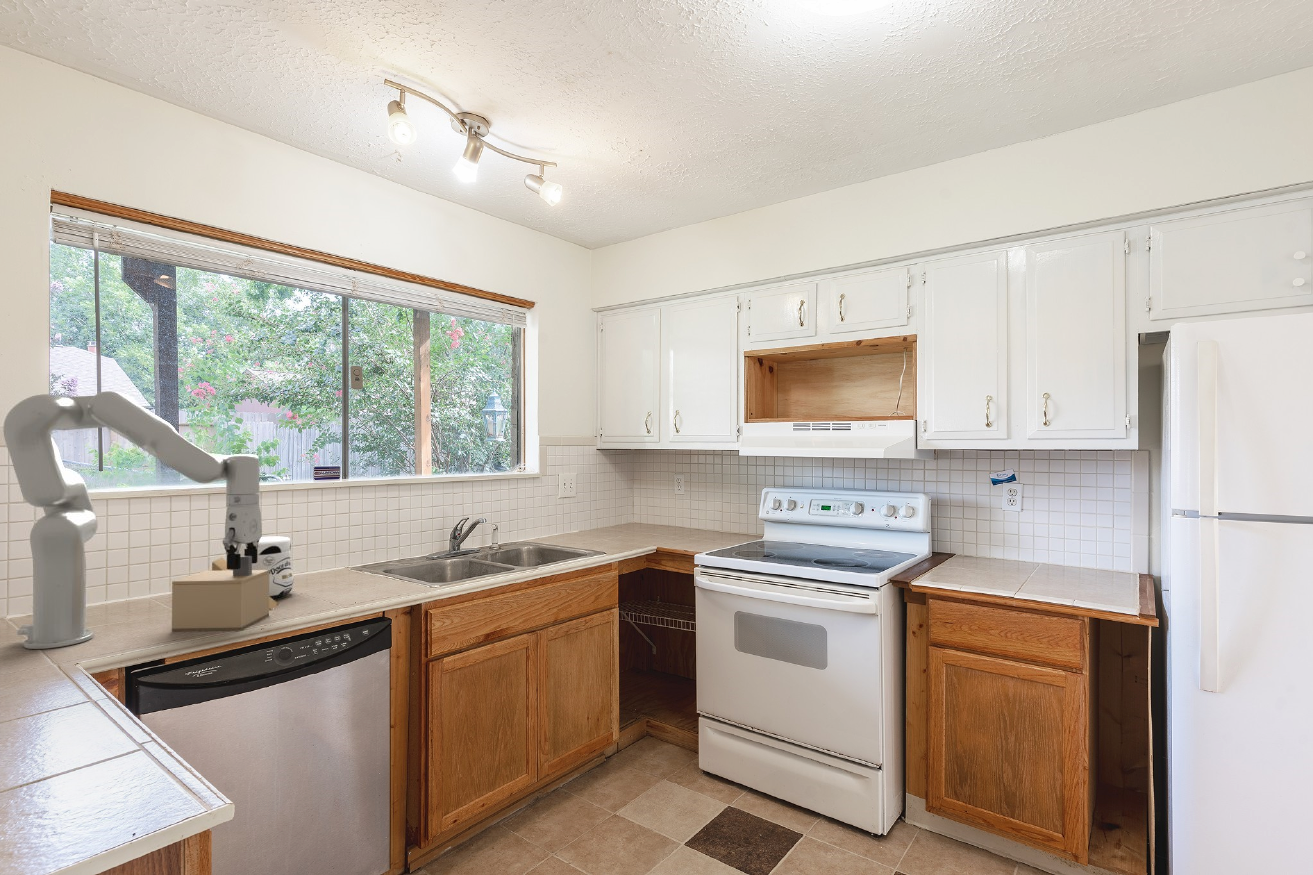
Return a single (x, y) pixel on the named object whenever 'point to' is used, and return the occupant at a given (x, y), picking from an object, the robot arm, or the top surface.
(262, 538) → the milk container
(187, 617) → the carton
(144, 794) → the top surface
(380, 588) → the top surface
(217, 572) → the carton lid
